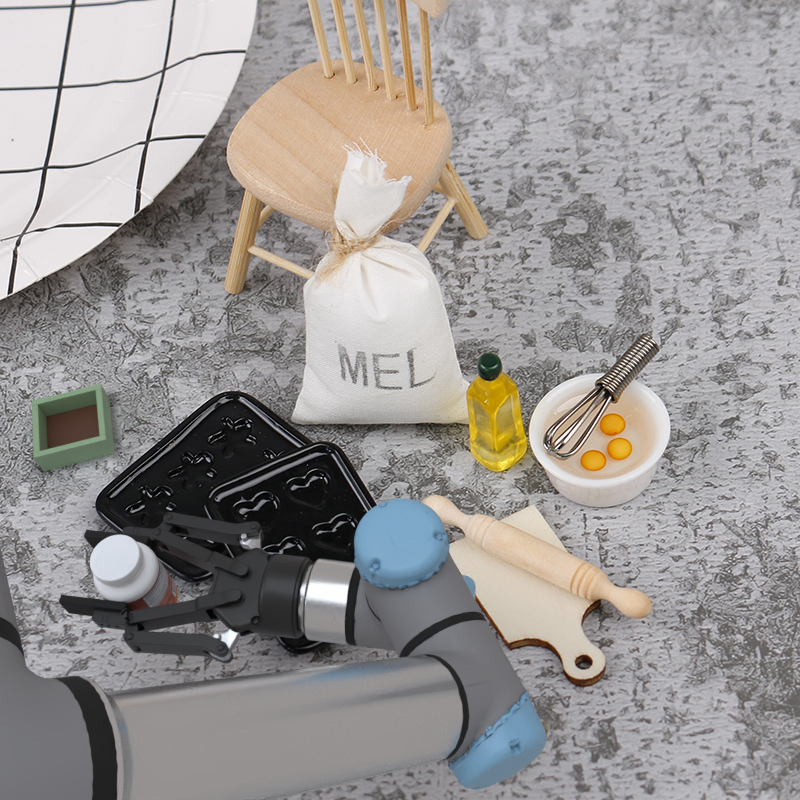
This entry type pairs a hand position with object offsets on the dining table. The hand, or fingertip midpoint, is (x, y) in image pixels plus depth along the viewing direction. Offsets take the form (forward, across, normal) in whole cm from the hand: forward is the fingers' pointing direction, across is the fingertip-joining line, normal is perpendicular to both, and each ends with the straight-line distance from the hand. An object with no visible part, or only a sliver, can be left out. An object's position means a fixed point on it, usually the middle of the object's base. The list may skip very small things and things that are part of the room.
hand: (78, 571), depth 91 cm
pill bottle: (-5, 0, -7) cm, 9 cm away
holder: (+16, +26, -18) cm, 36 cm away
